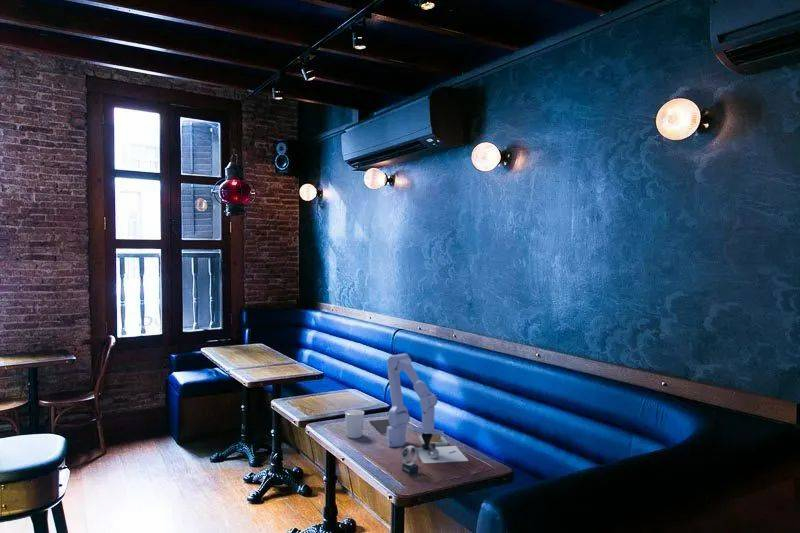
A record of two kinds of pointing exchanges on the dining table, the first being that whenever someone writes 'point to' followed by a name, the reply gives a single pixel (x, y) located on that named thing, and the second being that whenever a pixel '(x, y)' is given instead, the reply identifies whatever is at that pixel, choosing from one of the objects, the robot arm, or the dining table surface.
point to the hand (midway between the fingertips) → (427, 449)
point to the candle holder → (354, 423)
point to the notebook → (380, 426)
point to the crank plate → (442, 455)
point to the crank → (432, 450)
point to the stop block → (435, 438)
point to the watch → (409, 466)
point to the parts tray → (436, 442)
